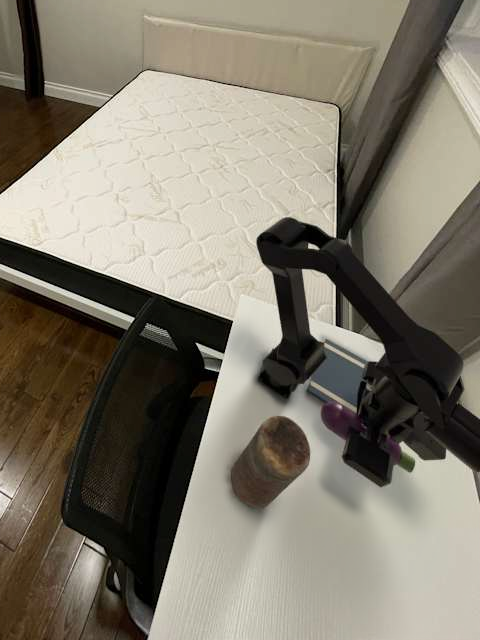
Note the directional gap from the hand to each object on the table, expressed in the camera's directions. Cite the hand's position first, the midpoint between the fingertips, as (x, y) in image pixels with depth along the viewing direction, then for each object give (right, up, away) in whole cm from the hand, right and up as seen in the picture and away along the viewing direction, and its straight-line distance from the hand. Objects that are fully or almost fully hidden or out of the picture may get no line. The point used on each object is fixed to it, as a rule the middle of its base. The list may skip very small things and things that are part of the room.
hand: (356, 434), depth 65 cm
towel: (+4, +4, +12) cm, 13 cm away
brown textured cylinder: (-19, -7, -2) cm, 21 cm away
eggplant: (0, -1, +1) cm, 1 cm away
